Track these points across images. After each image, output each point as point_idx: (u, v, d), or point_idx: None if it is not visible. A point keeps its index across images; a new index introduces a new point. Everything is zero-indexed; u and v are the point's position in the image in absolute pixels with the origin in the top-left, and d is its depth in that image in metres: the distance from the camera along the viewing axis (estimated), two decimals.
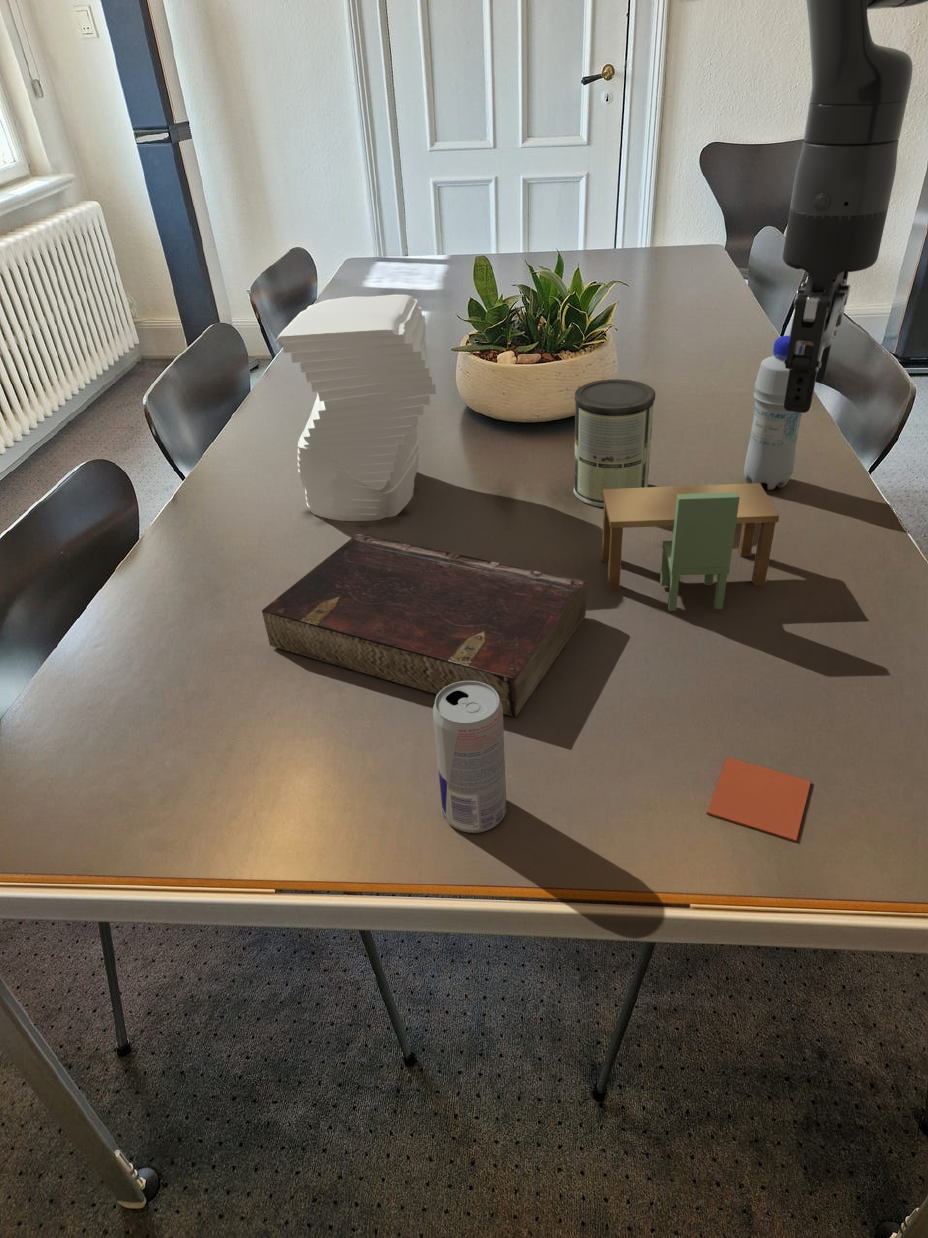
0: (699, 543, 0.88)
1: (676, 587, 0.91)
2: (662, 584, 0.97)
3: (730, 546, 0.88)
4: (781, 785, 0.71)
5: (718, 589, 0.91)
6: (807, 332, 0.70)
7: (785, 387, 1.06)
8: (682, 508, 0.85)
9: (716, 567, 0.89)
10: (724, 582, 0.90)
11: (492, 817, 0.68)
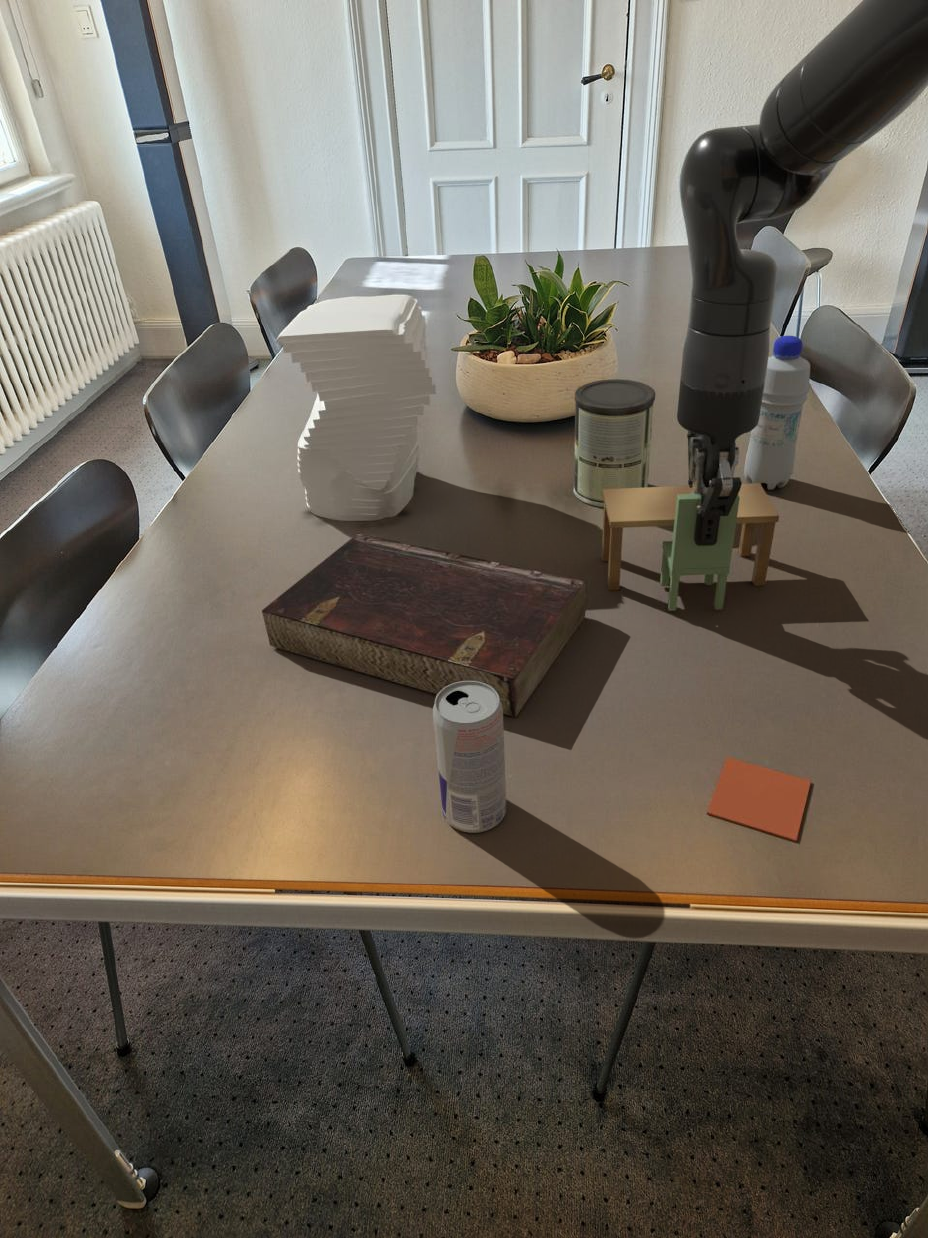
0: None
1: (676, 587, 0.91)
2: (662, 584, 0.97)
3: (730, 546, 0.88)
4: (781, 785, 0.71)
5: (718, 589, 0.91)
6: (722, 501, 0.80)
7: (785, 387, 1.06)
8: (682, 508, 0.85)
9: (716, 567, 0.89)
10: (724, 582, 0.90)
11: (492, 817, 0.68)
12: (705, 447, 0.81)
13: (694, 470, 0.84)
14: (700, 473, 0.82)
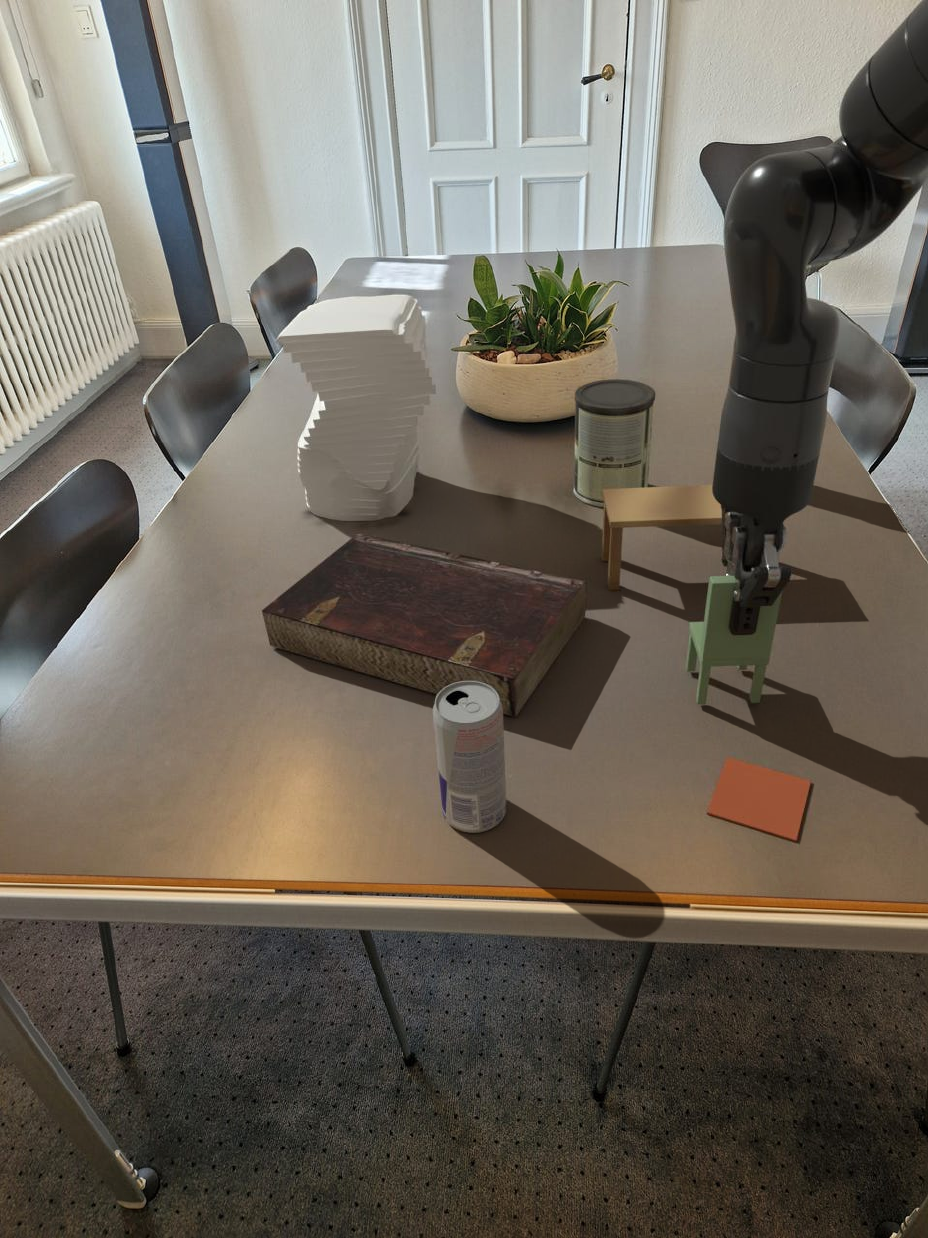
0: None
1: (706, 679, 0.78)
2: (688, 669, 0.84)
3: (771, 635, 0.75)
4: (781, 785, 0.71)
5: (755, 681, 0.78)
6: (766, 592, 0.67)
7: None
8: (716, 593, 0.73)
9: (754, 658, 0.76)
10: (763, 674, 0.78)
11: (492, 817, 0.68)
12: (746, 526, 0.68)
13: (731, 549, 0.72)
14: (739, 556, 0.69)
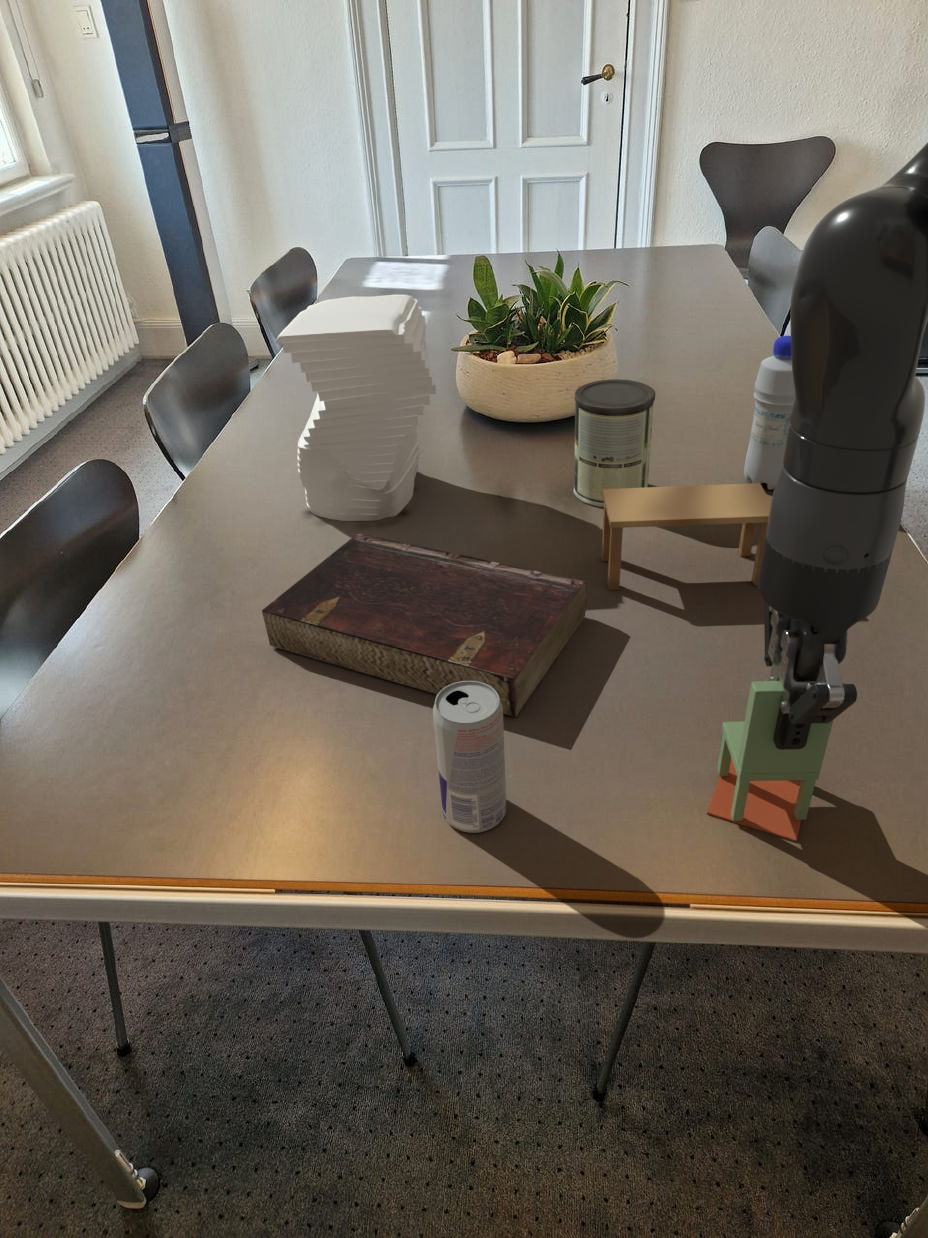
0: None
1: (744, 794, 0.66)
2: (720, 774, 0.72)
3: (823, 748, 0.63)
4: (781, 785, 0.71)
5: (802, 797, 0.66)
6: (825, 712, 0.55)
7: (785, 387, 1.06)
8: (759, 702, 0.61)
9: (801, 772, 0.65)
10: (811, 789, 0.66)
11: (492, 817, 0.68)
12: (799, 631, 0.56)
13: (777, 652, 0.60)
14: (790, 665, 0.57)
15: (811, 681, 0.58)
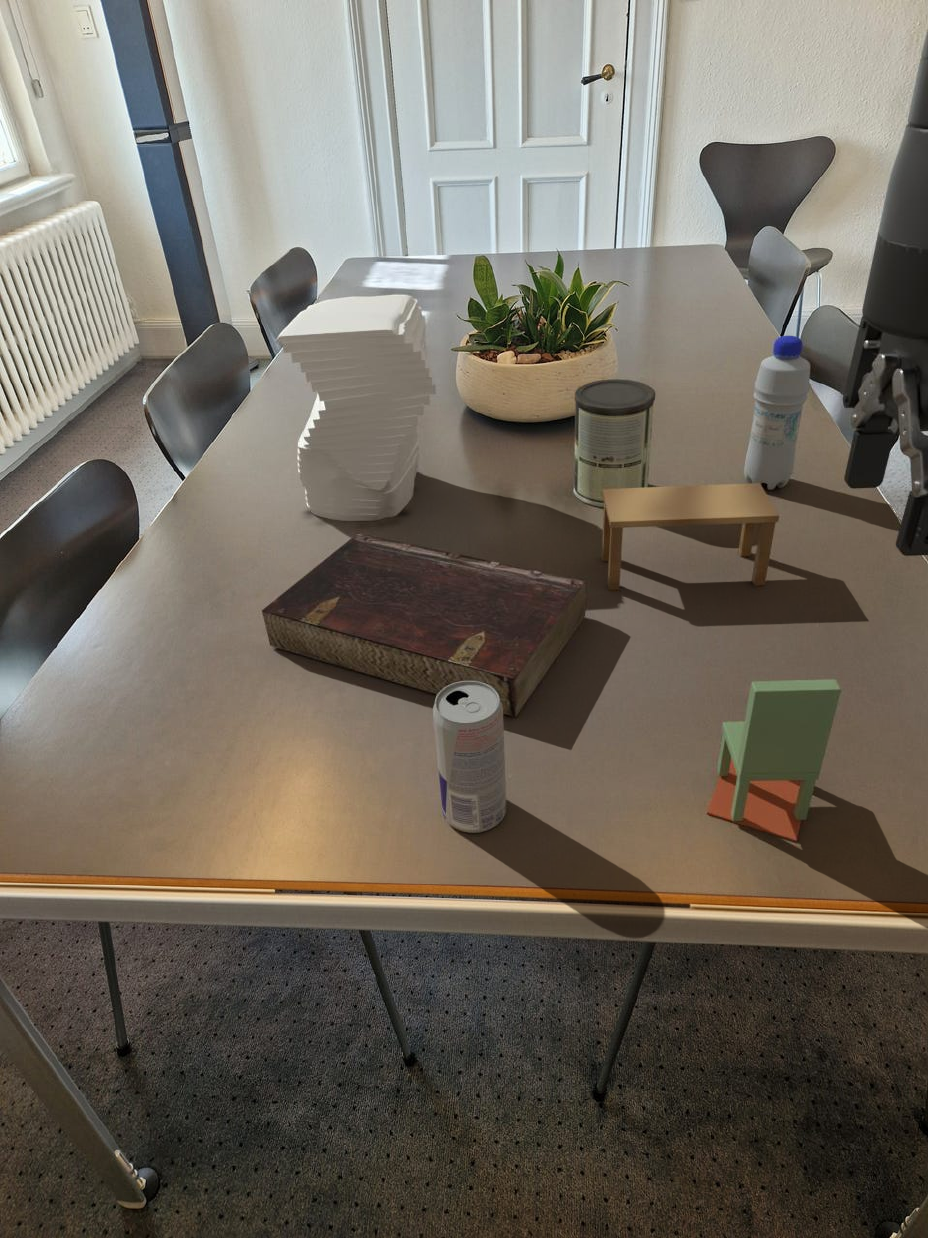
0: (779, 744, 0.63)
1: (744, 794, 0.66)
2: (720, 774, 0.72)
3: (823, 748, 0.63)
4: (781, 785, 0.71)
5: (802, 797, 0.66)
6: None
7: (785, 387, 1.06)
8: (759, 702, 0.61)
9: (801, 772, 0.65)
10: (811, 789, 0.66)
11: (492, 817, 0.68)
12: (916, 367, 0.45)
13: (871, 399, 0.50)
14: (913, 408, 0.45)
15: None
